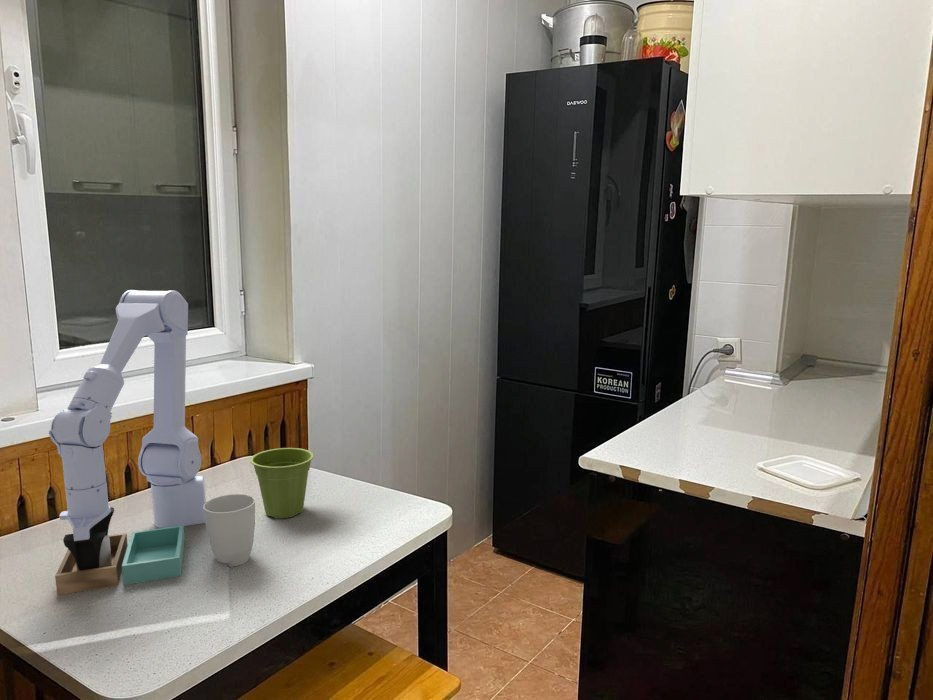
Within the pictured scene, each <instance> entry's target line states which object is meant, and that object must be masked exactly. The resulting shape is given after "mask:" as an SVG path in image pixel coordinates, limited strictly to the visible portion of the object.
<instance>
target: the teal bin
mask: <svg viewBox="0 0 933 700" xmlns="http://www.w3.org/2000/svg"><path fill="white" fill-rule="evenodd" d="M184 527H185V526H183V525H181V526H174V527H166V528H152V529H145V530H138V531H137V530H136V531H131V534H130V537H129V540H128V542H127V543H128V546H127V550H126V553H125V557H124V560H123V564H122V573H121V575H122V582H123V583H122V584H123V585H124V586H125V585H130V584H131V585H132V584H136V583H143V582H145V583H146V582H150V581H156V580H163V579H170V578H176V577H181V576H182V569H183V562H184V561H183V558H184V553H185V552H184V550H185V542H186V541H185V539H186V538H185V530H184V529H185V528H184Z"/></svg>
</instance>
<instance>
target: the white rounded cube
mask: <svg viewBox="0 0 933 700" xmlns="http://www.w3.org/2000/svg"><path fill="white" fill-rule="evenodd" d="M109 566H112V558H111V548H110V538H109V536H107V535H105V537H104V539H103V541H102V545H101V550H100V562H99V568H102V567H109ZM76 567H77V571H79V568H78V565H77V563H76Z"/></svg>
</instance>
